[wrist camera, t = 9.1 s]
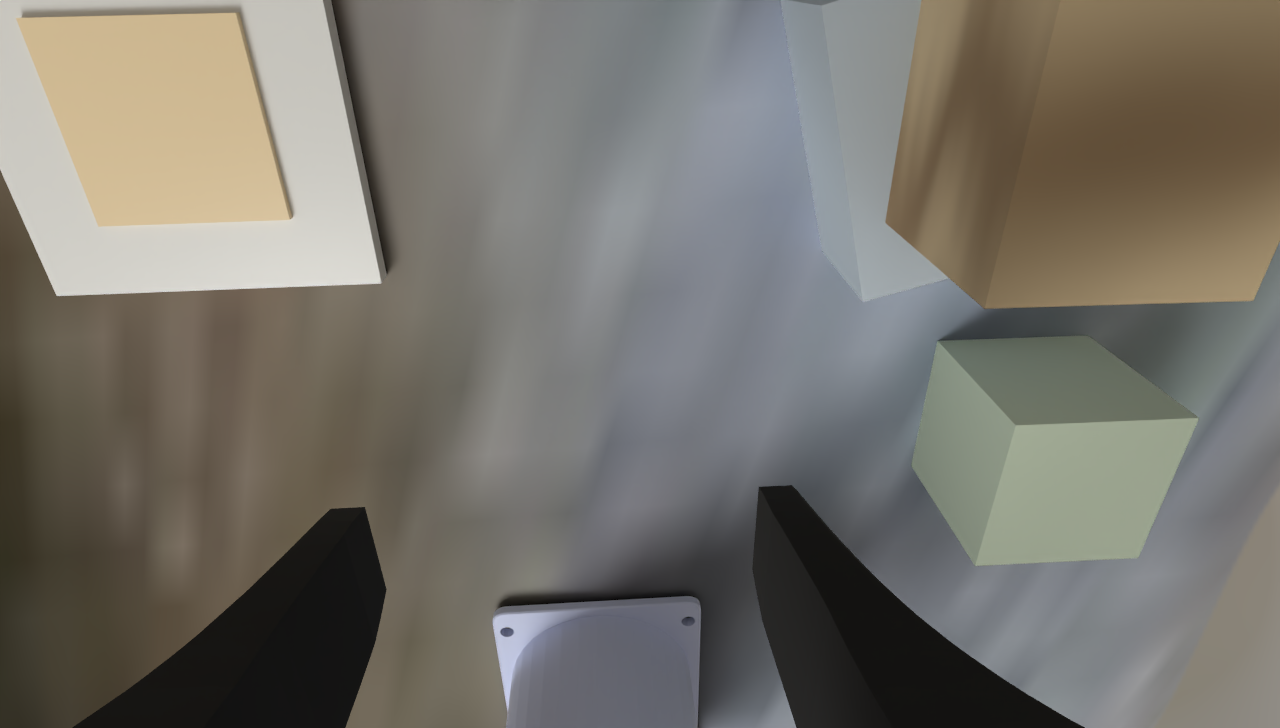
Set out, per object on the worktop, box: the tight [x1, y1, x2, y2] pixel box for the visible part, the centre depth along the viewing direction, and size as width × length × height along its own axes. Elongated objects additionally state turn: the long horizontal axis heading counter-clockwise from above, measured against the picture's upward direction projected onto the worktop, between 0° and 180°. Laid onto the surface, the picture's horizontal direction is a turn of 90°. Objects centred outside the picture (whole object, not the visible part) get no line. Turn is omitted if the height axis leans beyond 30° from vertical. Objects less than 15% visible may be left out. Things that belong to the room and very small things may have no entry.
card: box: [0, 0, 387, 296], centre depth 18 cm, size 9×9×1 cm
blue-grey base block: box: [780, 0, 949, 302], centre depth 18 cm, size 7×7×4 cm
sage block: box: [911, 335, 1199, 566], centre depth 22 cm, size 5×5×5 cm
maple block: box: [885, 0, 1280, 309], centre depth 14 cm, size 5×5×5 cm
